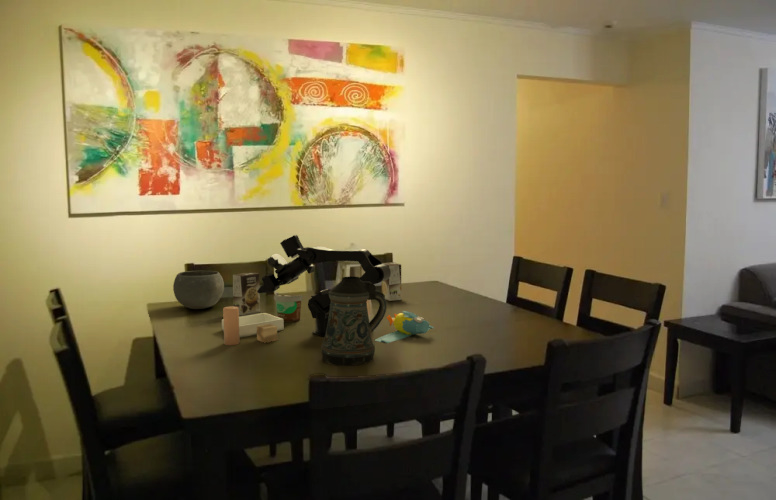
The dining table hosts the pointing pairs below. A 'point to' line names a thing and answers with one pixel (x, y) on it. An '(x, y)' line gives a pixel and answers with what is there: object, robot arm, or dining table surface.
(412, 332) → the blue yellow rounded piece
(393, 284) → the coffee box
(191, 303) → the bowl
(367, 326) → the beer stein
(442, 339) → the dining table surface
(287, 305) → the food container
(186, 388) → the dining table surface
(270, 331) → the maple block
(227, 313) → the tan upright cylinder
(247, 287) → the coffee box
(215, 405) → the dining table surface
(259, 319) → the tote
